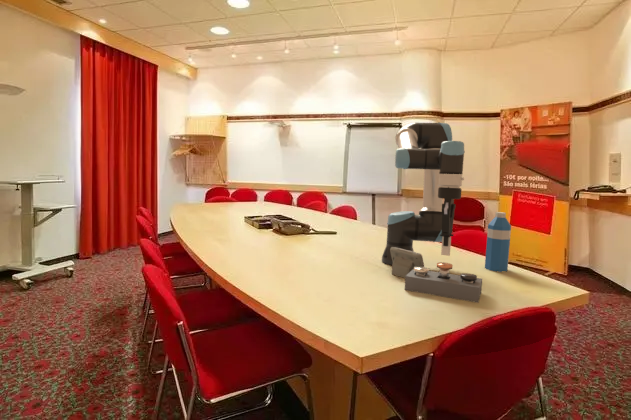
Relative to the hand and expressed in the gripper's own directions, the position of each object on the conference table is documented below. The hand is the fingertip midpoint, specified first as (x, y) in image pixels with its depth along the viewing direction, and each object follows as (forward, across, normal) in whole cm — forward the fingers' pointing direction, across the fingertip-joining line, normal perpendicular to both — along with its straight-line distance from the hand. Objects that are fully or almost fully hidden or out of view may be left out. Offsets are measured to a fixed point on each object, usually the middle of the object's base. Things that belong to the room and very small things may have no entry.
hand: (445, 254), depth 133 cm
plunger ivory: (+11, 0, +8) cm, 14 cm away
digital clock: (+13, +14, +16) cm, 25 cm away
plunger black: (+11, 0, -8) cm, 13 cm away
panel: (+13, 0, 0) cm, 13 cm away
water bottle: (+13, +46, -15) cm, 50 cm away
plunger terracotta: (+8, 0, 0) cm, 8 cm away
